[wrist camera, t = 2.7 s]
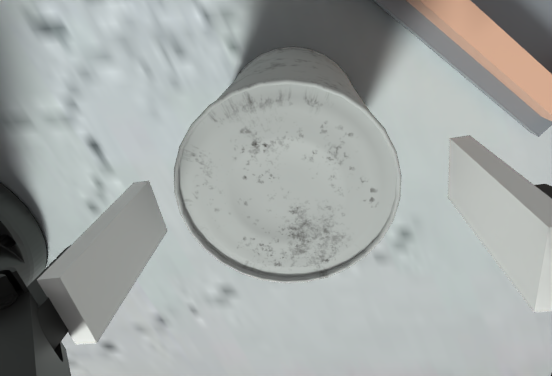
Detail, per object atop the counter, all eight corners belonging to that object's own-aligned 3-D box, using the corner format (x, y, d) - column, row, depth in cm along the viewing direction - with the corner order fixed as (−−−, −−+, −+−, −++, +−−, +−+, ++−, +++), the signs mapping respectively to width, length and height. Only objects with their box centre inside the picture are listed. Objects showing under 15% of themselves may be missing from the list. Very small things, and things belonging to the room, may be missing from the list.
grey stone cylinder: (217, 160, 28) (163, 259, 17) (238, 30, 24) (186, 50, 13) (334, 188, 28) (357, 301, 17) (377, 66, 24) (442, 114, 13)
